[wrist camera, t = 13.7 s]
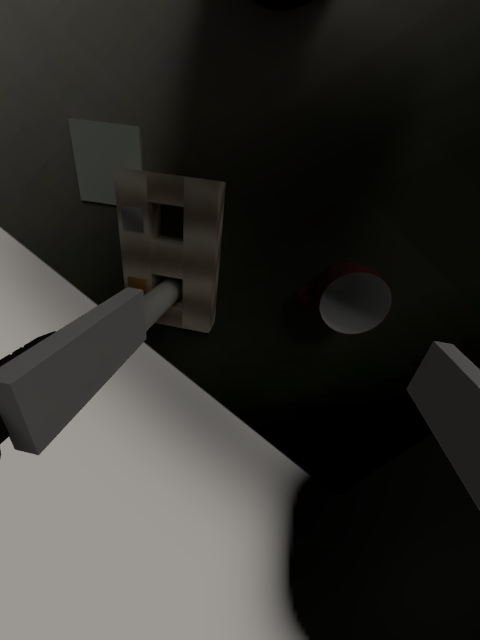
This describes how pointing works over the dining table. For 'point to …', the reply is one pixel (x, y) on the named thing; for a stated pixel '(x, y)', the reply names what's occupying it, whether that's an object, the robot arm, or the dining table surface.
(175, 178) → the socket block
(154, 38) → the dining table surface
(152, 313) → the plug
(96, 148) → the pad
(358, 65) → the dining table surface
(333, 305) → the mug
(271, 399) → the dining table surface
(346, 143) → the dining table surface
